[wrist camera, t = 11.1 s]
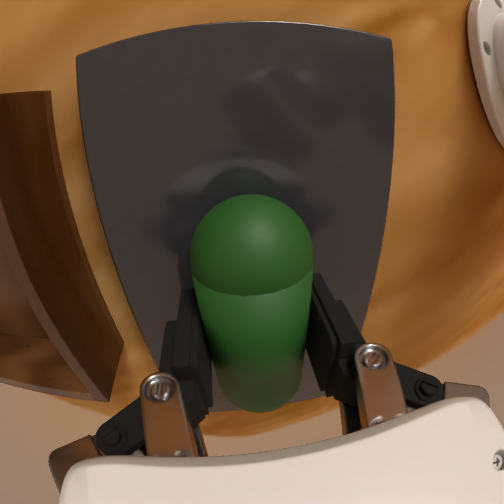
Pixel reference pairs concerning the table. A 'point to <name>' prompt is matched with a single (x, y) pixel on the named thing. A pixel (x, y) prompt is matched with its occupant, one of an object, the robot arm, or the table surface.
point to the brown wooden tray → (46, 267)
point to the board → (239, 152)
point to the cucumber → (254, 297)
